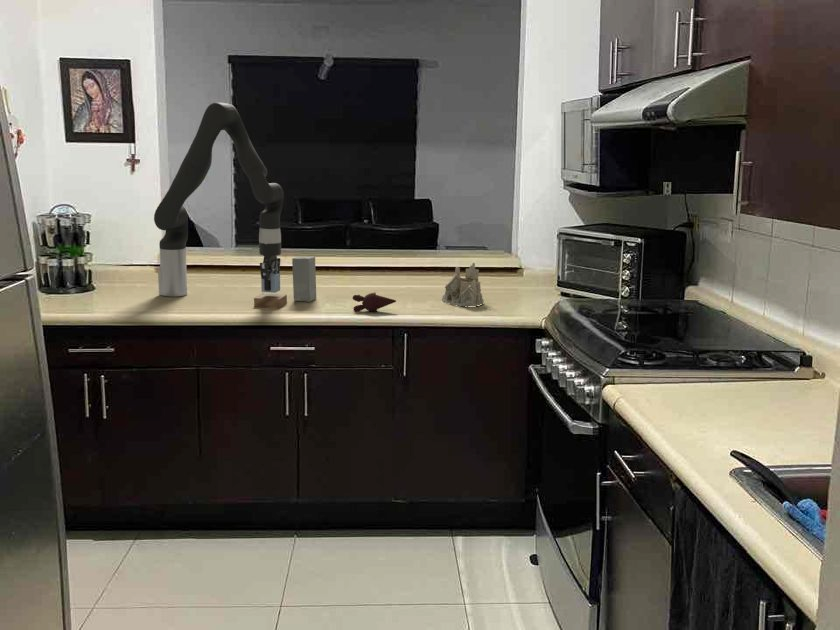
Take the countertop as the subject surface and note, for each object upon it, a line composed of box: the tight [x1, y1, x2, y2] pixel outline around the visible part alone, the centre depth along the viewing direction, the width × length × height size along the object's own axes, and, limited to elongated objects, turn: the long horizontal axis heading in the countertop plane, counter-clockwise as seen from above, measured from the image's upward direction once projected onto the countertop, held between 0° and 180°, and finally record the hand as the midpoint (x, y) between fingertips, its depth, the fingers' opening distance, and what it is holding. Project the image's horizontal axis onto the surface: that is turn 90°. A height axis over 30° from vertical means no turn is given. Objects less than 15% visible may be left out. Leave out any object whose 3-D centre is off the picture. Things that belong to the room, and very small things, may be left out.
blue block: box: [260, 273, 281, 294], centre depth 305 cm, size 5×5×6 cm
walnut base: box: [253, 292, 288, 309], centre depth 307 cm, size 9×9×4 cm
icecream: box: [352, 291, 397, 313], centre depth 301 cm, size 7×7×15 cm
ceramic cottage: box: [441, 262, 485, 307], centre depth 319 cm, size 16×16×15 cm
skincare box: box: [291, 255, 317, 303], centre depth 316 cm, size 8×7×16 cm
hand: (270, 288), depth 306 cm, fingers closed on blue block, 5 cm apart
